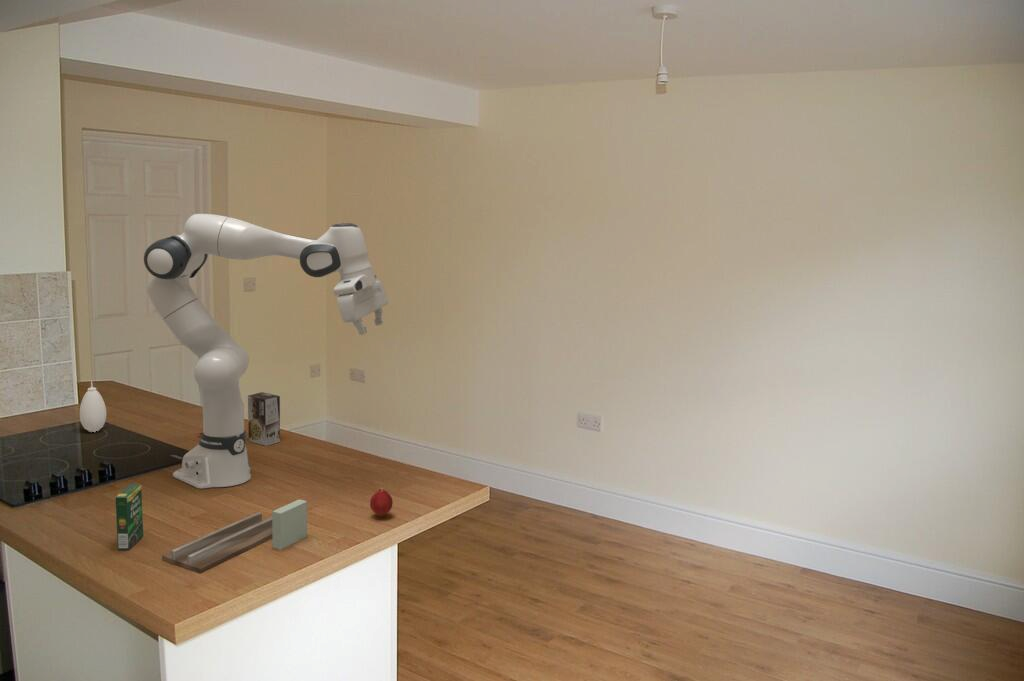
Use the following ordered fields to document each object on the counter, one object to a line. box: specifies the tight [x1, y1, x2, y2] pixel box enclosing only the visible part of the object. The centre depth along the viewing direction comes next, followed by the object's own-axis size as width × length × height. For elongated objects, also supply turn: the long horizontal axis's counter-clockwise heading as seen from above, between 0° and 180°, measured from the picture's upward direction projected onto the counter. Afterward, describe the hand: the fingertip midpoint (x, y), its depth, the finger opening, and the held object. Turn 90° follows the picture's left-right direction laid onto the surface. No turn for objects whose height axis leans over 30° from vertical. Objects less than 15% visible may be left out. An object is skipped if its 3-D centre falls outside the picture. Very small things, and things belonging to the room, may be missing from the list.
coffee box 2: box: [115, 483, 144, 551], centre depth 175 cm, size 8×3×13 cm, turn 3°
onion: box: [369, 487, 393, 518], centre depth 197 cm, size 6×6×8 cm
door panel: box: [271, 499, 308, 551], centre depth 180 cm, size 2×9×9 cm, turn 153°
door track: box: [161, 511, 273, 574], centre depth 177 cm, size 12×26×3 cm, turn 154°
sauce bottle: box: [79, 379, 107, 433], centre depth 257 cm, size 8×8×18 cm
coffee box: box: [247, 391, 281, 447], centre depth 255 cm, size 9×6×16 cm
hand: (371, 329), depth 211 cm, fingers open, 8 cm apart
